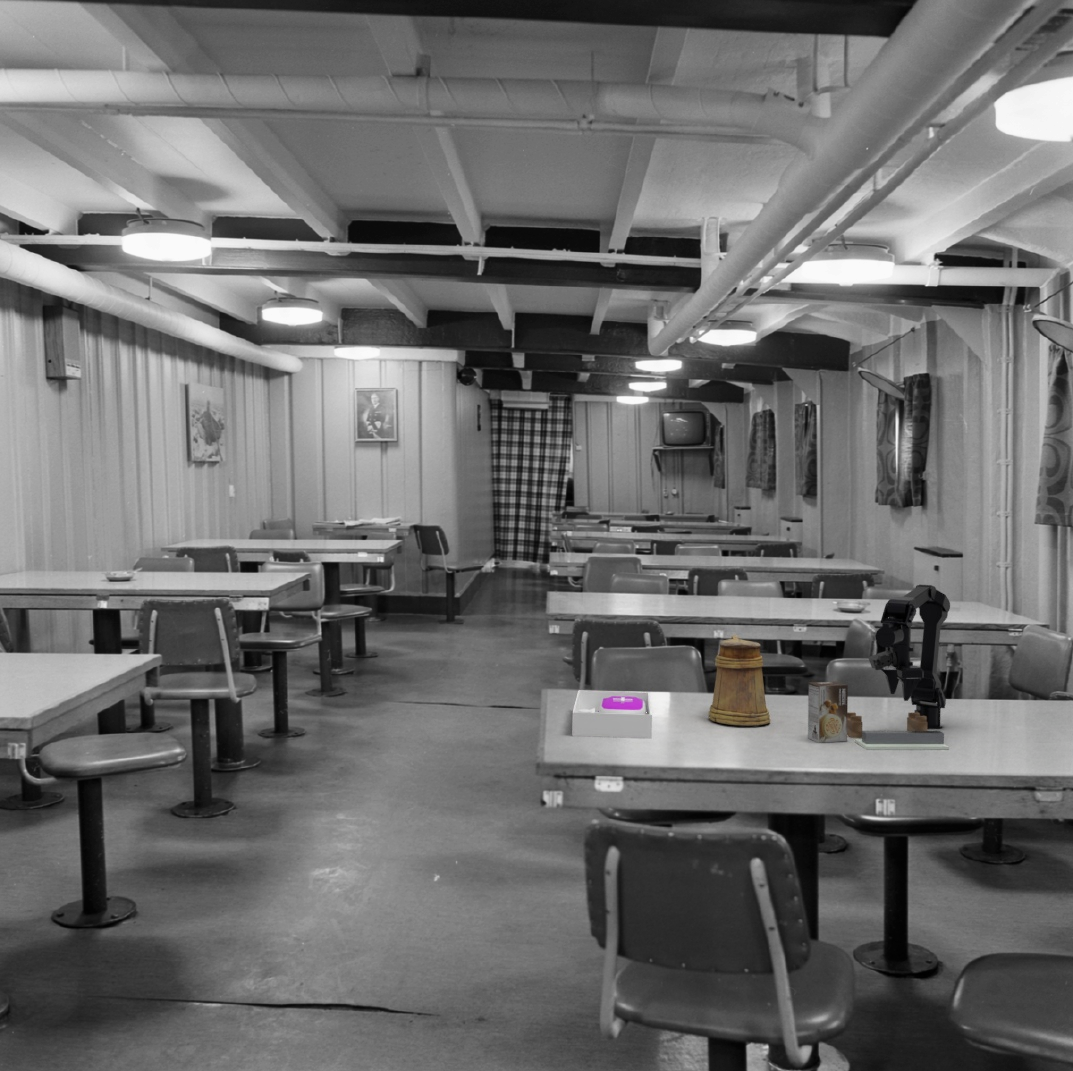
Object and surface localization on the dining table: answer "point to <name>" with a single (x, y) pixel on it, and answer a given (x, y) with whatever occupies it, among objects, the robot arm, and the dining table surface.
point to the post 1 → (854, 725)
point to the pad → (901, 746)
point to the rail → (903, 737)
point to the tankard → (739, 685)
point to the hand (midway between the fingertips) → (899, 697)
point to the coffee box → (827, 711)
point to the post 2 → (916, 722)
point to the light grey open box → (612, 714)
